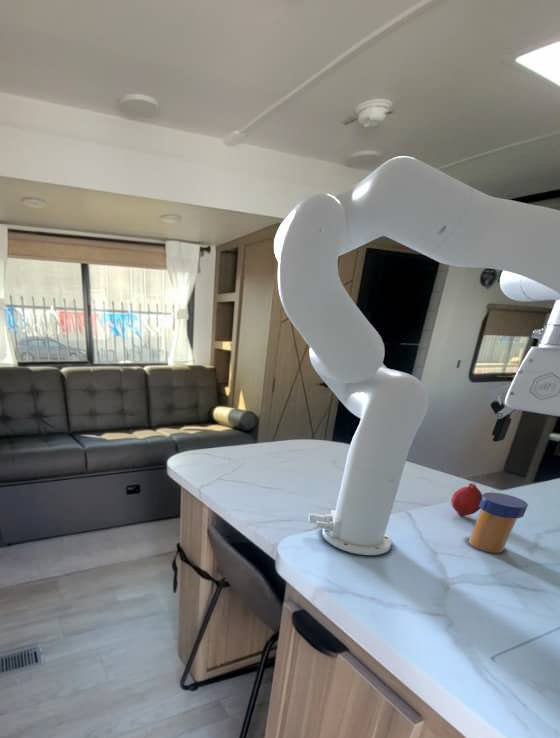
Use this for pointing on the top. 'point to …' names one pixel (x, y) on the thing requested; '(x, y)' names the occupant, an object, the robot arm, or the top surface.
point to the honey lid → (503, 505)
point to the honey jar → (491, 532)
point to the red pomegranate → (466, 500)
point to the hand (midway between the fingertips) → (527, 446)
